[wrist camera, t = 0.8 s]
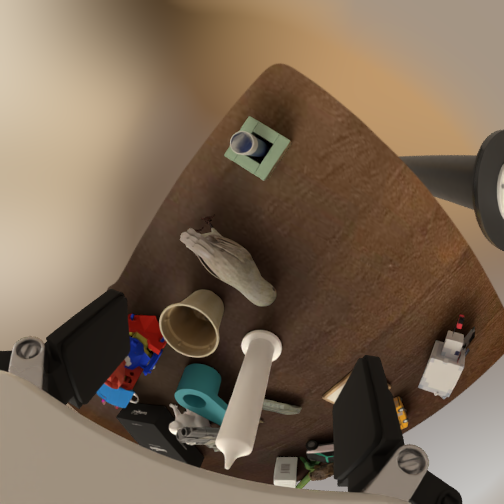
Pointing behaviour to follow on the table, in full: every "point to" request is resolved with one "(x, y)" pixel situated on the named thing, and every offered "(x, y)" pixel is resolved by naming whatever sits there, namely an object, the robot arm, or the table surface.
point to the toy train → (134, 360)
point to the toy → (446, 362)
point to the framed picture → (337, 390)
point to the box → (157, 432)
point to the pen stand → (272, 157)
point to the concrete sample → (322, 472)
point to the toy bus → (401, 412)
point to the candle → (248, 395)
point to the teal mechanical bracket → (201, 392)
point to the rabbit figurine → (187, 421)
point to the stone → (280, 407)
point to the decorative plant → (308, 467)
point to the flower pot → (193, 324)
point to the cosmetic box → (285, 471)
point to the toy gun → (198, 436)
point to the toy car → (320, 451)
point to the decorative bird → (229, 264)
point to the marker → (248, 144)
